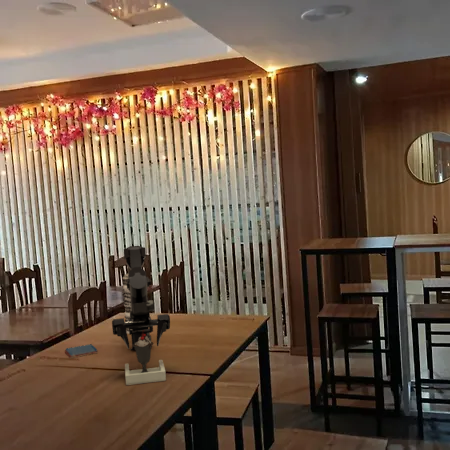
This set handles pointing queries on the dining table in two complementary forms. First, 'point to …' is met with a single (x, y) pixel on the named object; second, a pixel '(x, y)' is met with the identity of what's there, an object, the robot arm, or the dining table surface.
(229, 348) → the dining table surface
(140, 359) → the sundae
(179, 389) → the dining table surface
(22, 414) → the dining table surface
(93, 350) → the woven mat
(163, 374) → the end cap
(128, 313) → the decorative candle
